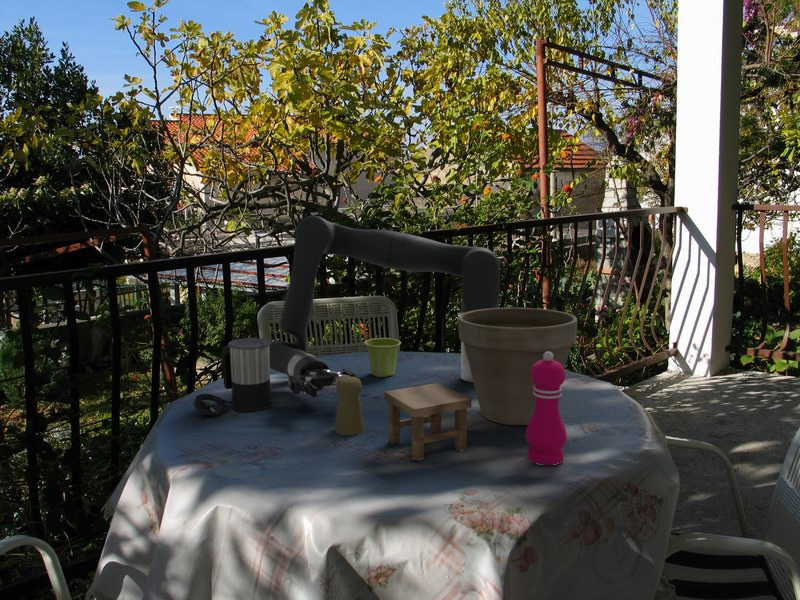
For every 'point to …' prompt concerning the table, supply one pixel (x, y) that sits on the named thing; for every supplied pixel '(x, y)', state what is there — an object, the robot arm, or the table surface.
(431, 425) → the footstool
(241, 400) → the milk frother
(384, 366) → the plant pot
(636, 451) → the table surface
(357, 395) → the cork
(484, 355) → the plant pot
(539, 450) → the pepper mill
